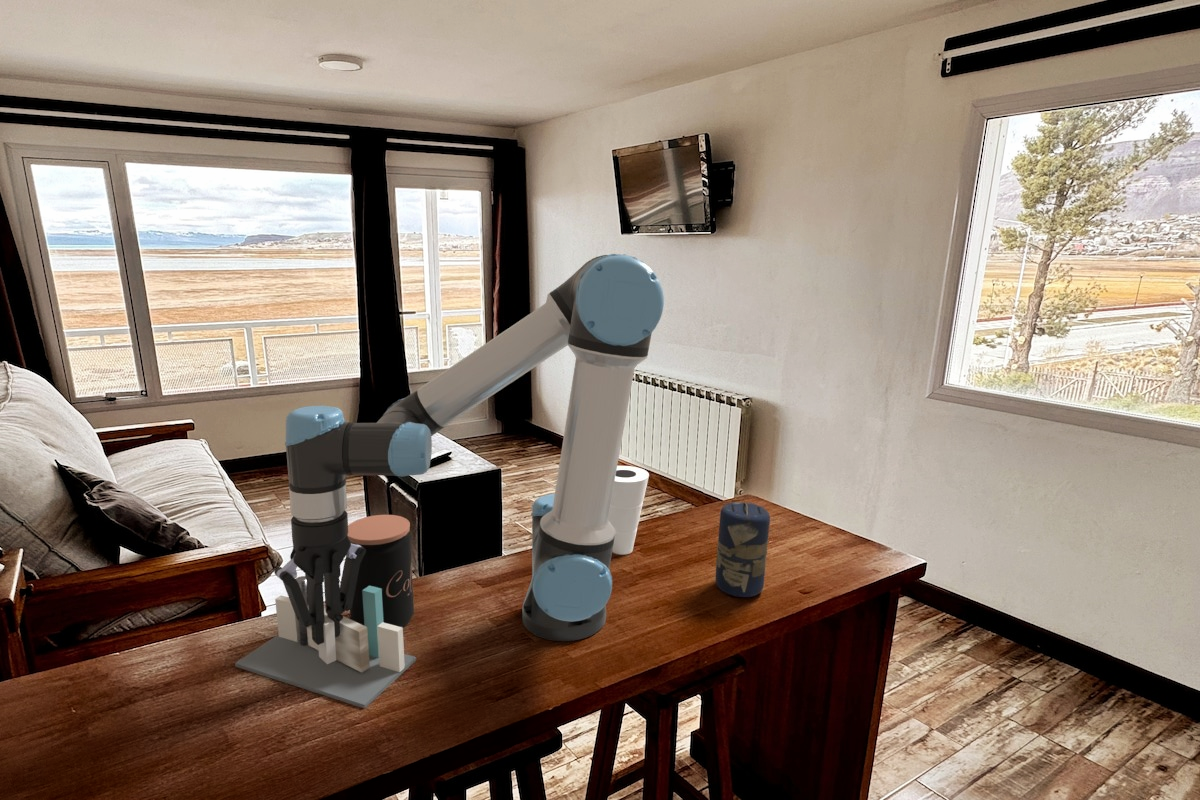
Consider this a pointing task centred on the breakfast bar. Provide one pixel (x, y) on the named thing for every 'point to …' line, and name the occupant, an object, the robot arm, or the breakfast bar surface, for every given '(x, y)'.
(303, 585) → the hinge post
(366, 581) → the coffee jar
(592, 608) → the robot arm
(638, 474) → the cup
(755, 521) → the canister
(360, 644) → the gate
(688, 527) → the breakfast bar surface
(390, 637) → the fence
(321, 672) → the mat
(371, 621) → the bar
